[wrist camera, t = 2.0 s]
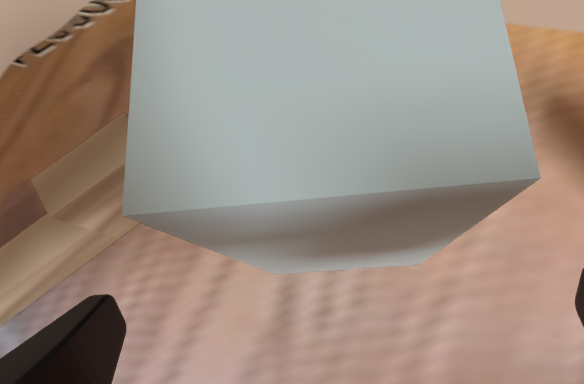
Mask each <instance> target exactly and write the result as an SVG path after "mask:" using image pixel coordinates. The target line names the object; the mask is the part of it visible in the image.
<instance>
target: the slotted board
mask: <svg viewBox="0 0 584 384" xmlns="http://www.w3.org/2000/svg"><path fill="white" fill-rule="evenodd" d="M128 117H129V116H128V115H127V114H125V113H124V112H123V113H122V114H120V115H119V116H118V117H116V118H115V119H113V120H112V121H111V122H109V123H108V124H107V125H105V126H104V127H102V128H101V129H100V130H98V131H97V132H96V133H94V134H93V135H91V136H90V137H89V138H87V139H86V140H85V141H83V142H82V143H80V144H79V145H78V146H76V147H75V148H74V149H72V150H71V151H70V152H68V153H67V154H65V155H64V156H63V157H61V158H60V159H59V160H57V161H56V162H54V163H53V164H52V165H50V166H49V167H48V168H46V169H45V170H43V171H42V172H41V173H39V174H38V175H37V176H35V177H34V178H32V179H31V182H32V184H33V186H34V188H35V190H36V192H37V194H38V196H39V198H40V200H41V202H42V203H43V205H44V207H45V209H46V211H47V214H45V215H44V216H43V217H41V218H40V219H39V220H37V221H36V222H35V223H33V224H32V225H30V226H29V227H28V228H26V229H25V230H24V231H22V232H21V233H19V234H18V235H17V236H15V237H14V238H13V239H11V240H10V241H9V242H7V243H6V244H4V245H3V246H2V247H0V327H1V326H2V325H3V324H5V323H6V322H7V321H9V320H10V319H11V318H13V317H14V316H15V315H17V314H18V313H19V312H21V311H22V310H23V309H25V308H26V307H28V306H29V305H30V304H32V303H33V302H34V301H36V300H37V299H38V298H40V297H41V296H42V295H44V294H45V293H46V292H48V291H49V290H50V289H52V288H53V287H54V286H56V285H57V284H59V283H60V282H61V281H63V280H64V279H65V278H67V277H68V276H69V275H71V274H72V273H73V272H75V271H76V270H77V269H79V268H80V267H81V266H83V265H84V264H86V263H87V262H88V261H90V260H91V259H92V258H94V257H95V256H96V255H98V254H99V253H100V252H102V251H103V250H104V249H106V248H107V247H108V246H110V245H111V244H113V243H114V242H115V241H117V240H118V239H119V238H121V237H122V236H123V235H125V234H126V233H127V232H129V231H130V230H131V229H133V228H134V227H135V226H137V225H138V224H140V223H139V222H137V221H134V220H131V219H129V218H126V217H124V216H122V209H123V193H124V178H125V163H126V147H127V132H128Z"/></svg>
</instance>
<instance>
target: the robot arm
mask: <svg viewBox="0 0 584 384" xmlns="http://www.w3.org/2000/svg"><path fill="white" fill-rule="evenodd" d="M575 307H576V311H577V313H578V316H579V318H580V320H581V322H582V324H583V327H584V268H583V270H582V273H581V277H580V281H579V285H578V289H577V293H576V297H575ZM125 335H126V322H125V320H124V318H123V316H122V313H121V311H120V309H119V307H118V305H117V303H116V301H115V299H114V297H112V296H111V295H108V294H105V295H93V296H89V297H88V298H86V299H85V300H83V301H82V302H81V303H79V304H78V305H76V306H75V307H73V308H72V309H71V310H69V311H68V312H66V313H65V314H63V315H62V316H61V317H59V318H58V319H56V320H55V321H53V322H52V323H51V324H49V325H48V326H46V327H45V328H44V329H42V330H41V331H39V332H38V333H36V334H35V335H34V336H32V337H31V338H29V339H28V340H26V341H25V342H24V343H22V344H21V345H19V346H18V347H16V348H15V349H14V350H12V351H11V352H9V353H8V354H6V355H5V356H4V357H2V358H1V359H0V384H112V380H113V377H114V373H115V370H116V366H117V363H118V359H119V356H120V352H121V349H122V346H123V342H124V339H125Z"/></svg>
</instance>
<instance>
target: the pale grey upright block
mask: <svg viewBox="0 0 584 384" xmlns="http://www.w3.org/2000/svg"><path fill="white" fill-rule="evenodd" d="M540 178H541V177H540V172H539V168H538V164H537V159H536V155H535V151H534V146H533V142H532V138H531V133H530V129H529V125H528V120H527V116H526V112H525V107H524V103H523V98H522V94H521V90H520V85H519V81H518V77H517V72H516V68H515V64H514V59H513V55H512V51H511V46H510V42H509V38H508V33H507V29H506V25H505V20H504V16H503V12H502V7H501V3H500V0H136V10H135V25H134V40H133V56H132V71H131V86H130V102H129V117H128V132H127V147H126V163H125V178H124V193H123V209H122V216H124V217H126V218H129V219H131V220H134V221H137V222H139V223H142V224H144V225H147V226H150V227H152V228H155V229H158V230H160V231H163V232H165V233H168V234H171V235H173V236H176V237H178V238H181V239H184V240H186V241H189V242H191V243H194V244H197V245H199V246H202V247H204V248H207V249H210V250H212V251H215V252H217V253H220V254H223V255H225V256H228V257H230V258H233V259H236V260H238V261H241V262H243V263H246V264H249V265H251V266H254V267H257V268H259V269H262V270H264V271H267V272H270V273H272V274H288V273H303V272H319V271H334V270H349V269H364V268H380V267H395V266H410V265H420V264H421V263H423V262H424V261H425V260H427V259H428V258H430V257H431V256H432V255H434V254H435V253H437V252H438V251H439V250H441V249H442V248H444V247H445V246H446V245H448V244H449V243H451V242H452V241H453V240H455V239H456V238H458V237H459V236H460V235H462V234H463V233H465V232H466V231H467V230H469V229H470V228H472V227H473V226H474V225H476V224H477V223H479V222H480V221H481V220H483V219H484V218H486V217H487V216H488V215H490V214H491V213H493V212H494V211H495V210H497V209H498V208H500V207H501V206H502V205H504V204H505V203H507V202H508V201H509V200H511V199H512V198H514V197H515V196H516V195H518V194H519V193H521V192H522V191H523V190H525V189H526V188H528V187H529V186H530V185H532V184H533V183H535V182H536V181H537V180H539V179H540Z"/></svg>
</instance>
